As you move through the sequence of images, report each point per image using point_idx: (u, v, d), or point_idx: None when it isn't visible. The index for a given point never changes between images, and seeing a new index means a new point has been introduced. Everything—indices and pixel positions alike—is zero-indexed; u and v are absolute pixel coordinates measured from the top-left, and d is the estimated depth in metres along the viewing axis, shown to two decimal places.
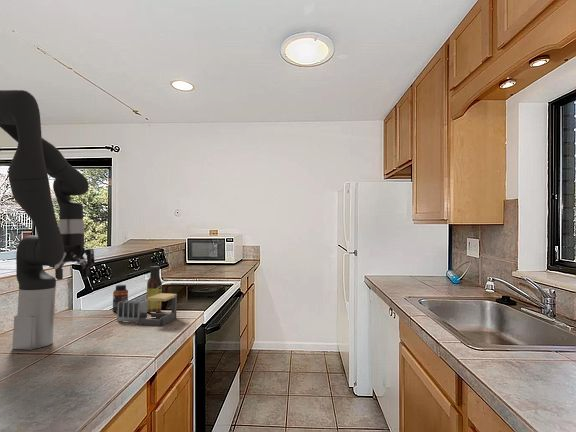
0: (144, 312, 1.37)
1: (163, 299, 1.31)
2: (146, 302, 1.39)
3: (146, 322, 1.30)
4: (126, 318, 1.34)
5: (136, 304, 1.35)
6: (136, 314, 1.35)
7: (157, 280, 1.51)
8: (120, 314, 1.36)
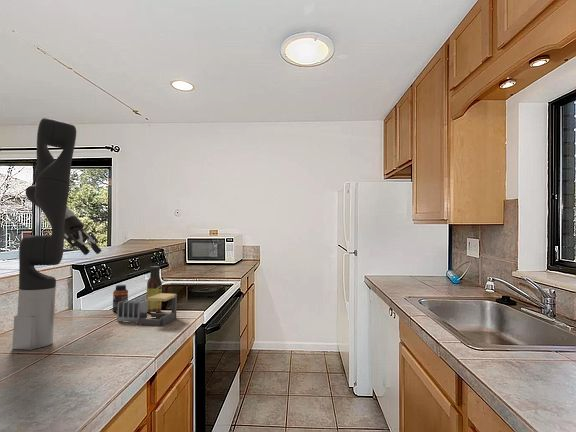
0: (144, 312, 1.37)
1: (163, 299, 1.31)
2: (146, 302, 1.39)
3: (146, 322, 1.30)
4: (126, 318, 1.34)
5: (136, 304, 1.35)
6: (136, 314, 1.35)
7: (157, 280, 1.51)
8: (120, 314, 1.36)
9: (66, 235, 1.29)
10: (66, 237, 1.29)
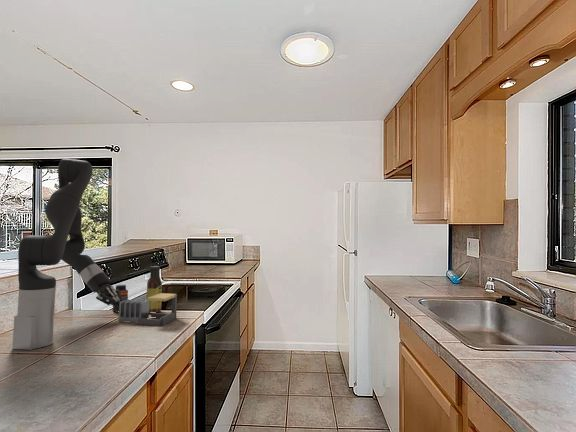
0: (145, 312, 1.37)
1: (163, 299, 1.31)
2: (148, 302, 1.39)
3: (146, 322, 1.30)
4: (128, 318, 1.34)
5: (138, 304, 1.35)
6: (138, 314, 1.35)
7: (157, 280, 1.51)
8: (122, 314, 1.35)
9: (100, 297, 1.33)
10: (100, 298, 1.33)
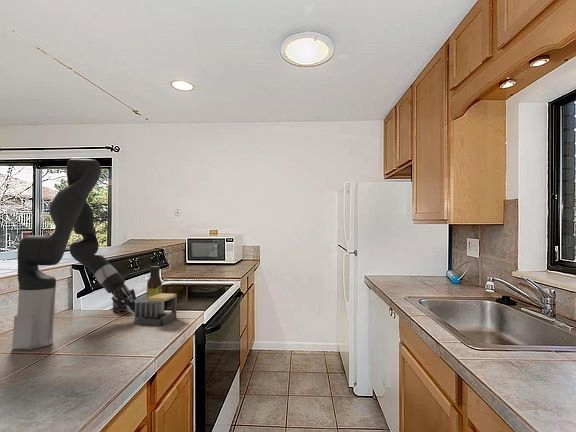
0: (161, 312, 1.37)
1: (163, 299, 1.31)
2: (163, 302, 1.38)
3: (146, 322, 1.30)
4: (144, 318, 1.33)
5: (153, 304, 1.35)
6: (153, 314, 1.35)
7: (157, 280, 1.51)
8: (137, 314, 1.35)
9: (116, 297, 1.32)
10: (116, 299, 1.32)
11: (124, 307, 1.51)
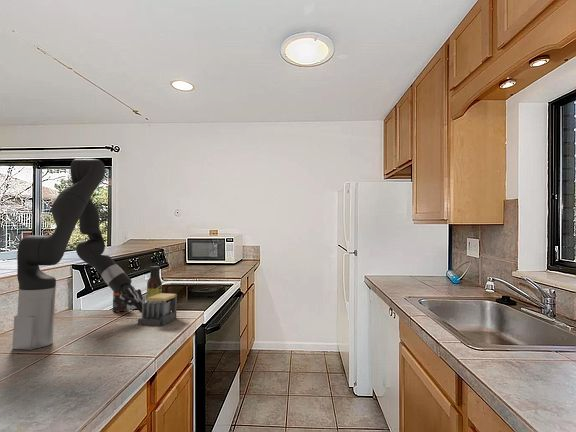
0: (168, 313, 1.36)
1: (163, 299, 1.31)
2: (170, 303, 1.38)
3: (146, 322, 1.30)
4: None
5: (161, 305, 1.35)
6: (160, 315, 1.35)
7: (157, 280, 1.51)
8: (144, 315, 1.35)
9: (123, 298, 1.32)
10: (123, 299, 1.32)
11: (124, 307, 1.51)
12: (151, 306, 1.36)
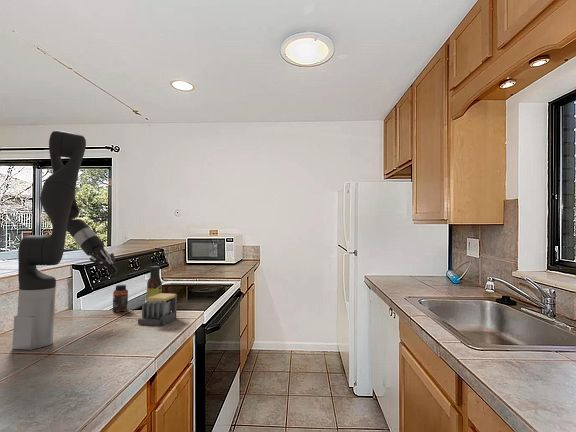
0: (168, 313, 1.36)
1: (163, 299, 1.31)
2: (170, 303, 1.38)
3: (146, 322, 1.30)
4: None
5: (161, 305, 1.35)
6: (160, 315, 1.35)
7: (157, 280, 1.51)
8: (144, 315, 1.35)
9: (94, 258, 1.34)
10: (94, 260, 1.34)
11: (124, 307, 1.51)
12: (151, 306, 1.36)
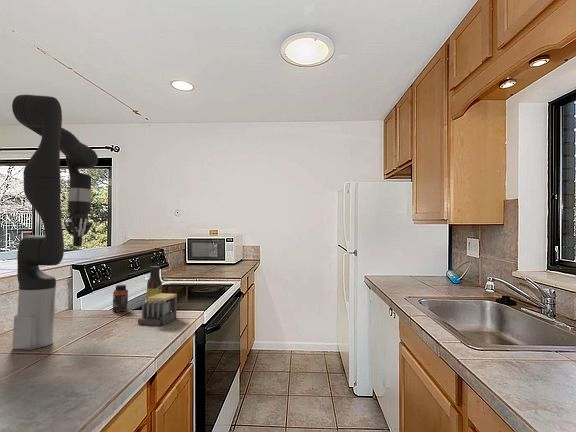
0: (168, 313, 1.36)
1: (163, 299, 1.31)
2: (170, 303, 1.38)
3: (146, 322, 1.30)
4: None
5: (160, 305, 1.35)
6: (160, 315, 1.35)
7: (156, 280, 1.51)
8: (144, 315, 1.35)
9: (67, 224, 1.26)
10: (67, 225, 1.26)
11: (124, 307, 1.51)
12: (151, 306, 1.36)
